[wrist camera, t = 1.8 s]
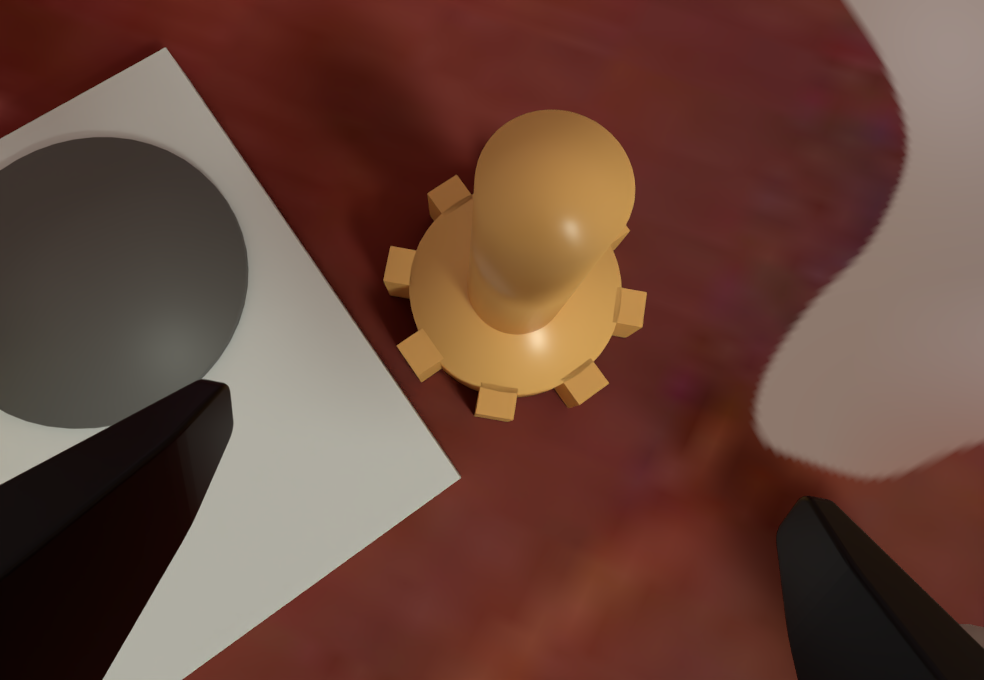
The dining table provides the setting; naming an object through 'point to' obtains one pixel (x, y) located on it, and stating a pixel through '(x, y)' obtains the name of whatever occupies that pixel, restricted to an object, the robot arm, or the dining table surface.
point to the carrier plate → (195, 353)
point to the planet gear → (523, 266)
